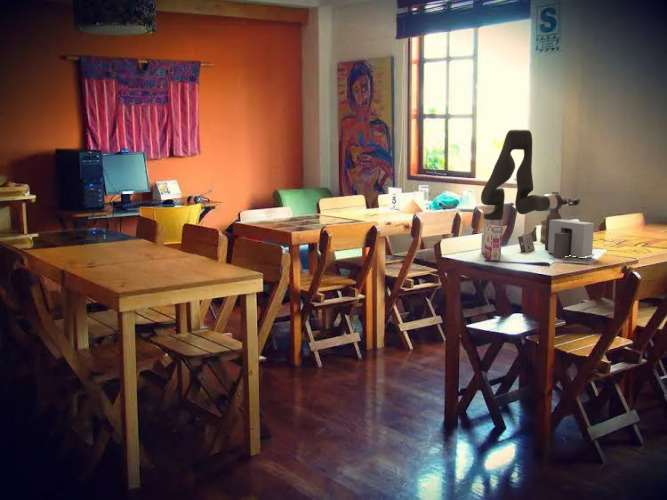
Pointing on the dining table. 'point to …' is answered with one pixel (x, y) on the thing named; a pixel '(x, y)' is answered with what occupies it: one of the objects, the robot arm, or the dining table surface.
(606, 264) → the dining table surface
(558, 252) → the plug
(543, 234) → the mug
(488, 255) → the candy bar box
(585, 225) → the socket
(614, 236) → the dining table surface
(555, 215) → the beer bottle
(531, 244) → the electrical switch
